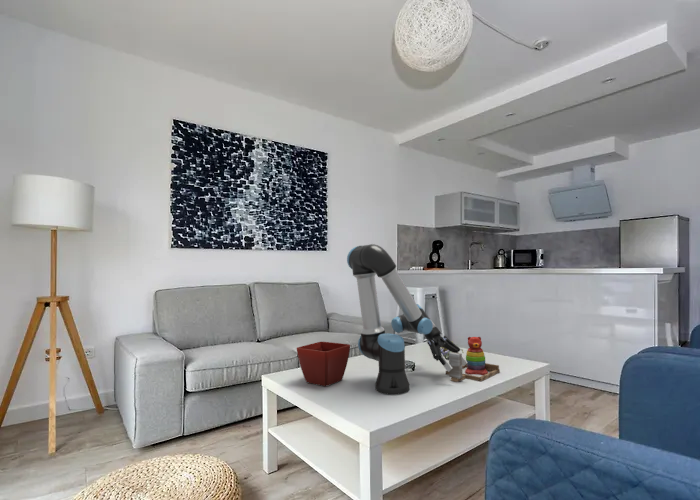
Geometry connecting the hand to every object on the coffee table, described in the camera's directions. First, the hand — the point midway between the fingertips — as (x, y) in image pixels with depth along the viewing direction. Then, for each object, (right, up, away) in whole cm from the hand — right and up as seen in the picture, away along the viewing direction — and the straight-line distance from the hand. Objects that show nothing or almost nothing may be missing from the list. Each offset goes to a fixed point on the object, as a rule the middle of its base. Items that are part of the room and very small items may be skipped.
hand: (458, 367), depth 174 cm
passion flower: (+9, -9, +44) cm, 45 cm away
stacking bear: (+13, -7, +13) cm, 20 cm away
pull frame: (+8, -6, +8) cm, 13 cm away
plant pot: (-63, -9, +5) cm, 63 cm away
